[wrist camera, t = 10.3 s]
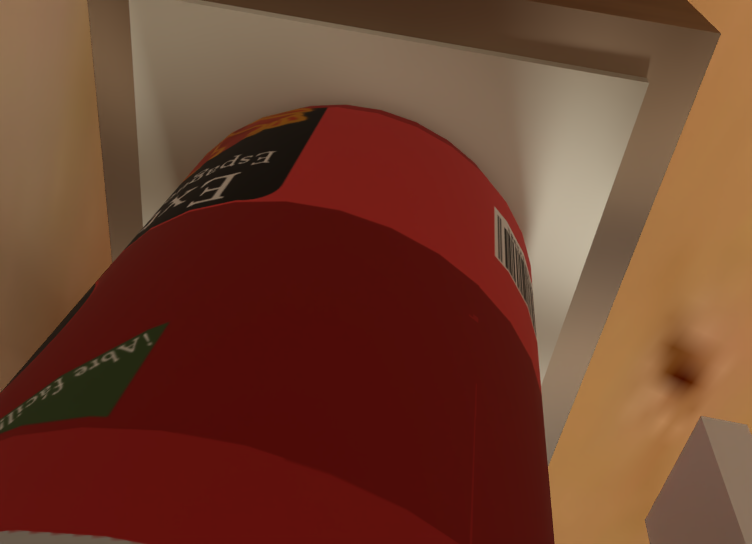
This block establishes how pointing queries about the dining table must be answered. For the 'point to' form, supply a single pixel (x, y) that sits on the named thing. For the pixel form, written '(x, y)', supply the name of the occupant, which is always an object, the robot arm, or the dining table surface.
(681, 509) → the robot arm
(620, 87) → the base
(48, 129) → the dining table surface
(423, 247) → the canned food
